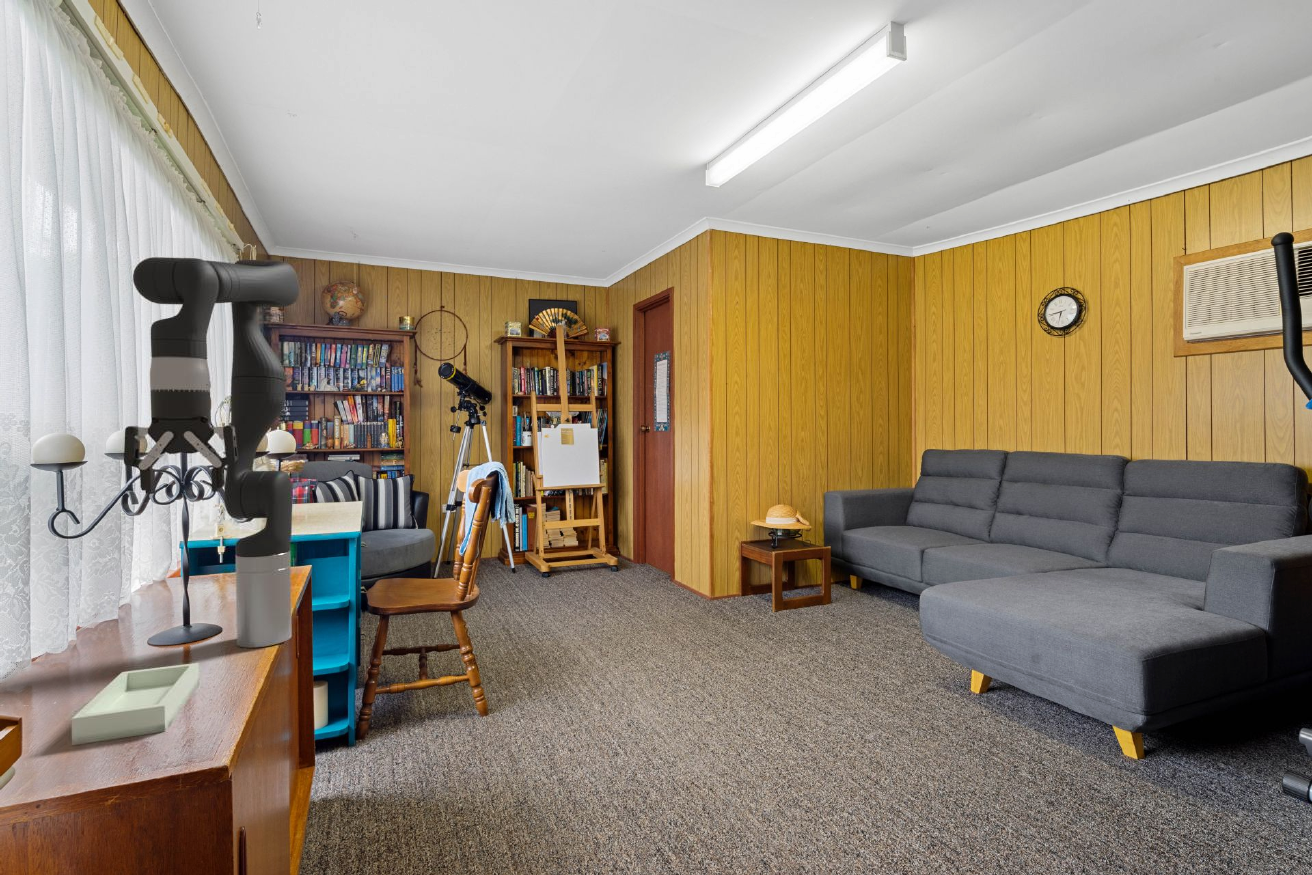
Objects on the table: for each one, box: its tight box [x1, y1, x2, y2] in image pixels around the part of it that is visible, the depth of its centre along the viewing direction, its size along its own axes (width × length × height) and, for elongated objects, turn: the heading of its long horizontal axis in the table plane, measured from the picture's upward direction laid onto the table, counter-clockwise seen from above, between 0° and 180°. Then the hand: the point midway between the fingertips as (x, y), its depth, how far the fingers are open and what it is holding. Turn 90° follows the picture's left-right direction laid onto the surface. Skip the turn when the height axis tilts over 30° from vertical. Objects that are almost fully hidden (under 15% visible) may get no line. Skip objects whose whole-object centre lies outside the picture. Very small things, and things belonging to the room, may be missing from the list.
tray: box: [71, 662, 200, 746], centre depth 96 cm, size 18×10×4 cm, turn 23°
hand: (184, 492), depth 102 cm, fingers open, 8 cm apart
